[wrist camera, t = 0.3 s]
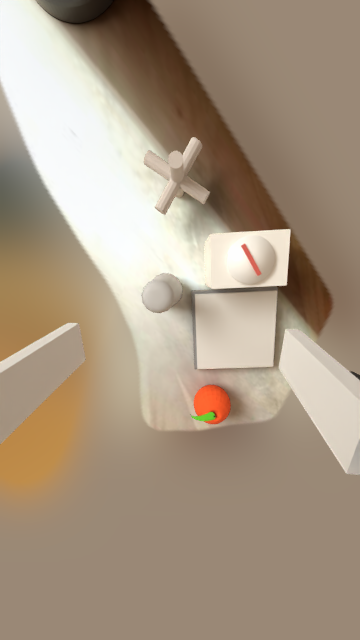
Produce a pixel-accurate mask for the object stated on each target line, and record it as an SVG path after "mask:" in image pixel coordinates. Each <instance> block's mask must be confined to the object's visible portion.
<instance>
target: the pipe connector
mask: <svg viewBox="0 0 360 640" xmlns="http://www.w3.org/2000/svg"><path fill="white" fill-rule="evenodd" d="M201 148H202V144H201V142H200V141H199V140H198V139H196V138H195V137H192V138H191V140H190V142H189V144H188V146H187V148H186V150H185V152H184V153H183V155H182V154H181V153H180V152H178V151H173V152H172V153H170V155H169V157H168V163H167V162H166V161H164V160H163V159H162V158H160V157H159V156H157V155H156V154H154V153H153V152H151V151H150V150H149V151H148V152H147V153H146V155H145V158H144V164H145V165H146V166H148V167H149V168H151V169H152V170H154V171H155V172H157V173H158V174H159V175H161V176H162V177H164V178H165V179H167V180H168V181H169V182H168V183H167V185H166V187H165V189H164V191H163V193H162V195H161V197H160V198H159V200H158V202H157V204H156V206H155V208H156V209H157V210H158V211H159V212H161V213H162V214H164V215H165V214H166V212H167V210H168V209H169V207H170V205H171V203H172V201H173V200H174V198H175V196H176V197H182V196H183V194H184V192H186V193H187V194H189V195H190V196H192V197H193V198H195V199H196V200H198V201H199V202H201V203H202V204H204V203H205V202H206V200H207V198H208V196H209V194H210V192H209V191H208V190H206V189H205V188H204V187H202V186H201V185H199V184H198V183H196V182H195V181H193V180H192V179H191V178H189V177H188V176H187V174H188V172H189V170H190V169H191V167H192V165H193V163H194V161H195V159H196V158H197V156H198V154H199V152H200V150H201Z"/></svg>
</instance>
